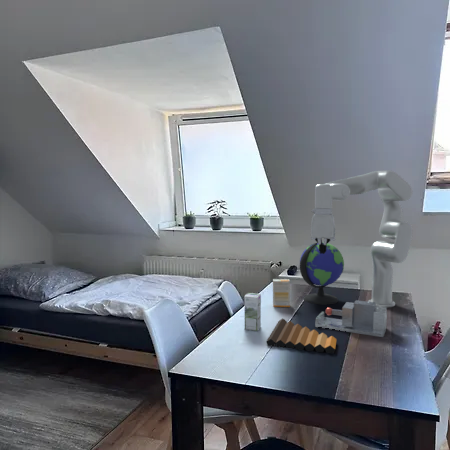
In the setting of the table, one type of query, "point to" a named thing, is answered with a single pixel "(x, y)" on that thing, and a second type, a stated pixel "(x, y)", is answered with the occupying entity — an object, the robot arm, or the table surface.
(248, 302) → the syrup box
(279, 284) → the supplement box
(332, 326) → the vise bed
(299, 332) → the pan flute
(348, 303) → the free jaw
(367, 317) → the steel block
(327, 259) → the globe
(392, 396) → the table surface
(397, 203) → the robot arm
